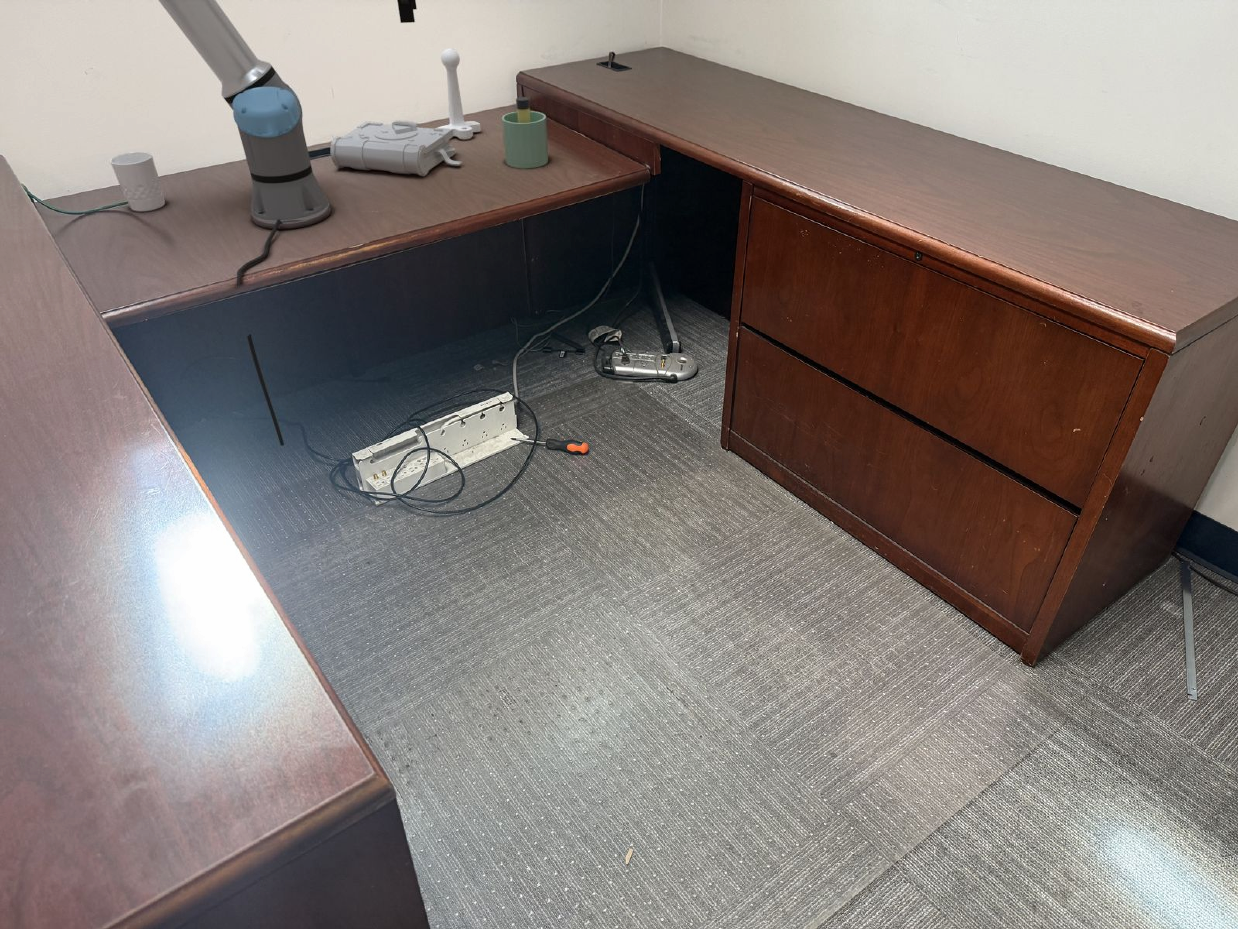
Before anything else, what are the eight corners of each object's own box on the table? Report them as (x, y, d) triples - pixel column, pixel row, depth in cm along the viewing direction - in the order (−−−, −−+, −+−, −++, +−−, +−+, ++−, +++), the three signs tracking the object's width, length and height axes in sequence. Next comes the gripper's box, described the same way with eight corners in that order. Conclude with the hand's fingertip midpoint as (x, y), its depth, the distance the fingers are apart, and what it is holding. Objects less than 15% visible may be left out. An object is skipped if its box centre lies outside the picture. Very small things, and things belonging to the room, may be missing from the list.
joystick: (472, 128, 219) (464, 44, 207) (488, 135, 215) (481, 49, 203) (434, 136, 214) (424, 49, 202) (449, 143, 209) (440, 55, 197)
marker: (533, 158, 197) (529, 99, 189) (520, 159, 197) (516, 100, 189) (532, 154, 200) (528, 96, 192) (520, 155, 199) (515, 97, 191)
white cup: (153, 214, 174) (135, 165, 168) (119, 211, 176) (100, 162, 170) (176, 200, 180) (160, 152, 174) (143, 197, 182) (126, 150, 176)
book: (442, 181, 188) (438, 146, 184) (330, 170, 194) (323, 135, 189) (476, 156, 203) (473, 123, 199) (371, 146, 209) (366, 113, 204)
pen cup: (550, 166, 196) (547, 122, 189) (507, 169, 194) (503, 124, 188) (546, 153, 203) (543, 109, 197) (504, 155, 202) (500, 111, 196)
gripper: (408, -107, 148) (426, 27, 161) (413, -117, 168) (428, 3, 181) (365, -106, 147) (386, 28, 160) (374, -116, 167) (393, 4, 180)
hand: (408, 15), depth 171 cm, fingers open, 13 cm apart
